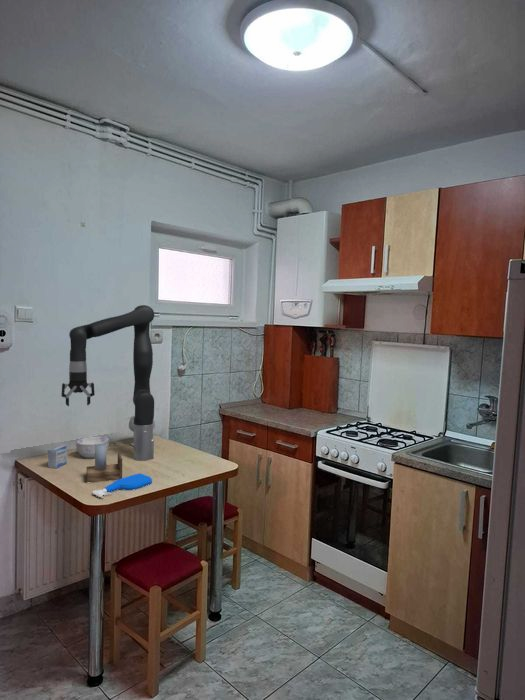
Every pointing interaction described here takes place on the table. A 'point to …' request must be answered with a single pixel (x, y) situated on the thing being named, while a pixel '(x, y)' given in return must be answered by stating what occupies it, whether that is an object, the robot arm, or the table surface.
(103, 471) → the shelf step
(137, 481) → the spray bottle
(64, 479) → the table surface
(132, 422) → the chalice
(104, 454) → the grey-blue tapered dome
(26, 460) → the table surface
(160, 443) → the table surface
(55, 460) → the medicine box
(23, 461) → the table surface
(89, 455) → the paper bowls
